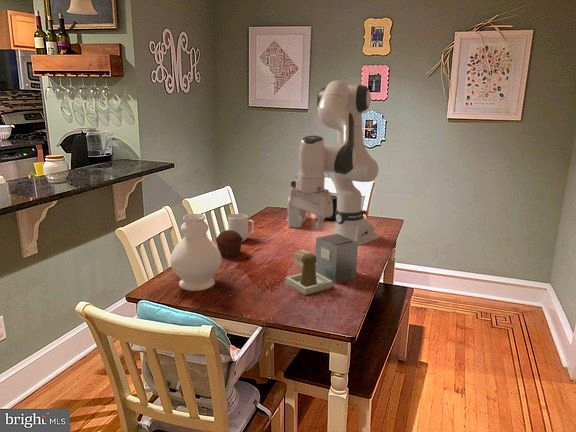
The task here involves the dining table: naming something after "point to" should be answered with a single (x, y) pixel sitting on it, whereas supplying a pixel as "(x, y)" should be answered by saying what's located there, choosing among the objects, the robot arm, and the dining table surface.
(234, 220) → the mug
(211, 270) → the decorative vase
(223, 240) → the muffin
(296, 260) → the maple block
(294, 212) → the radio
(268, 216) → the dining table surface
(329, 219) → the supplement container
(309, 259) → the cork
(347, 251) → the box
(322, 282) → the tray
